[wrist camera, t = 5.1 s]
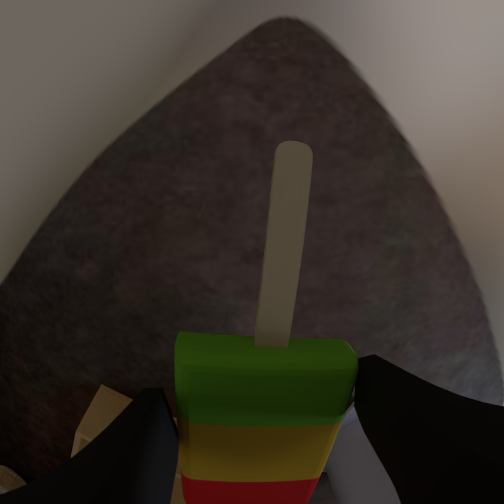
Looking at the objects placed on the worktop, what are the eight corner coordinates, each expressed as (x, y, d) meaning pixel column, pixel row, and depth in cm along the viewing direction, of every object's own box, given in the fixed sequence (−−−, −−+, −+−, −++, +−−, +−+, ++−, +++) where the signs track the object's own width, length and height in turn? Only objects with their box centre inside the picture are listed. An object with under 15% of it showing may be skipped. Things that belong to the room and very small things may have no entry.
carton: (245, 440, 19) (250, 492, 14) (169, 525, 22) (165, 559, 17) (101, 383, 17) (76, 430, 13) (74, 489, 20) (61, 521, 16)
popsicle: (186, 487, 11) (183, 516, 10) (192, 136, 8) (182, 124, 6) (298, 489, 12) (304, 516, 10) (375, 160, 9) (406, 157, 7)
